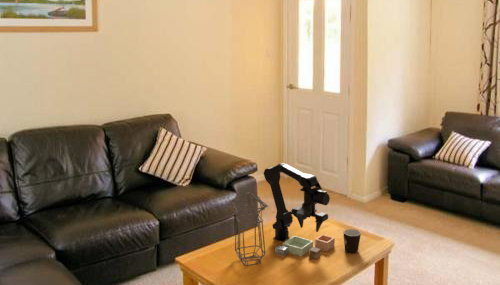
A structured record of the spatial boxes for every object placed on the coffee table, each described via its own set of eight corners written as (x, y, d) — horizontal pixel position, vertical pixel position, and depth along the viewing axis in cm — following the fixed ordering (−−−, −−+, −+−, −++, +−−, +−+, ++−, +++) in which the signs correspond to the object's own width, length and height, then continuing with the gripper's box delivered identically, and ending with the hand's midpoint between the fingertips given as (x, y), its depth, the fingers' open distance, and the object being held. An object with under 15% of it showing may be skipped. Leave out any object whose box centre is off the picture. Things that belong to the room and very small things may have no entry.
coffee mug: (360, 255, 251) (361, 236, 248) (342, 253, 252) (343, 235, 250) (359, 245, 262) (360, 227, 259) (343, 243, 263) (343, 226, 261)
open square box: (315, 248, 259) (315, 239, 258) (322, 243, 264) (322, 234, 263) (327, 251, 255) (327, 242, 253) (334, 246, 260) (334, 237, 259)
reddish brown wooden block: (275, 254, 253) (275, 247, 252) (279, 251, 256) (279, 244, 255) (283, 256, 250) (283, 250, 249) (287, 254, 253) (287, 247, 252)
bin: (282, 250, 257) (282, 243, 256) (294, 242, 265) (294, 235, 264) (301, 256, 250) (301, 249, 249) (312, 248, 259) (313, 241, 258)
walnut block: (309, 257, 249) (309, 249, 248) (313, 254, 252) (313, 247, 251) (316, 259, 247) (316, 252, 246) (320, 256, 250) (320, 249, 249)
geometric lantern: (239, 270, 237) (236, 199, 229) (231, 256, 252) (228, 189, 244) (271, 265, 241) (269, 195, 233) (261, 252, 256) (259, 186, 248)
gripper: (284, 201, 252) (284, 230, 255) (316, 209, 240) (316, 239, 244) (297, 195, 260) (297, 223, 263) (329, 202, 248) (328, 232, 252)
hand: (309, 229), depth 255 cm, fingers open, 9 cm apart
